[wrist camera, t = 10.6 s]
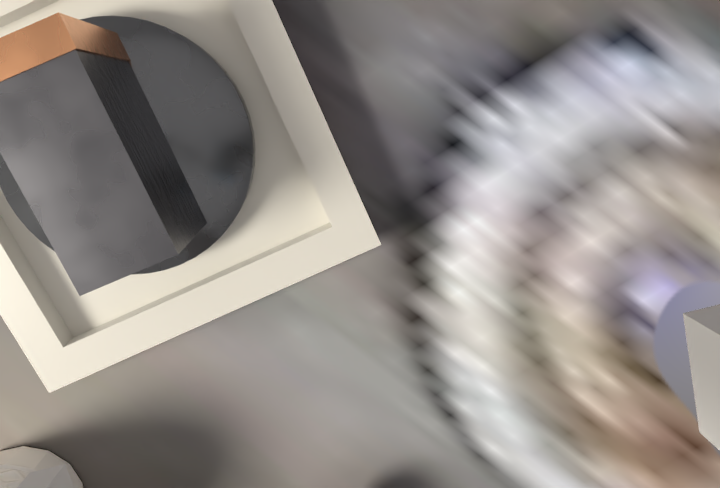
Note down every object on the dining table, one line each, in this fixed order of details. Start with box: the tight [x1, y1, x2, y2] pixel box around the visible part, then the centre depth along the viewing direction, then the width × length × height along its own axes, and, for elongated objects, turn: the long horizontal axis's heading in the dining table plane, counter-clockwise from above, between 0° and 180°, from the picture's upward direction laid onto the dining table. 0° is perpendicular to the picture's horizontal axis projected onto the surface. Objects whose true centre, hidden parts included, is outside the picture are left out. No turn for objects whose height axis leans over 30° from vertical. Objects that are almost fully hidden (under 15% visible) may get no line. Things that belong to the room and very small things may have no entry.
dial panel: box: [0, 0, 381, 393], centre depth 33 cm, size 20×20×3 cm
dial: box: [0, 12, 255, 296], centre depth 29 cm, size 13×13×9 cm
